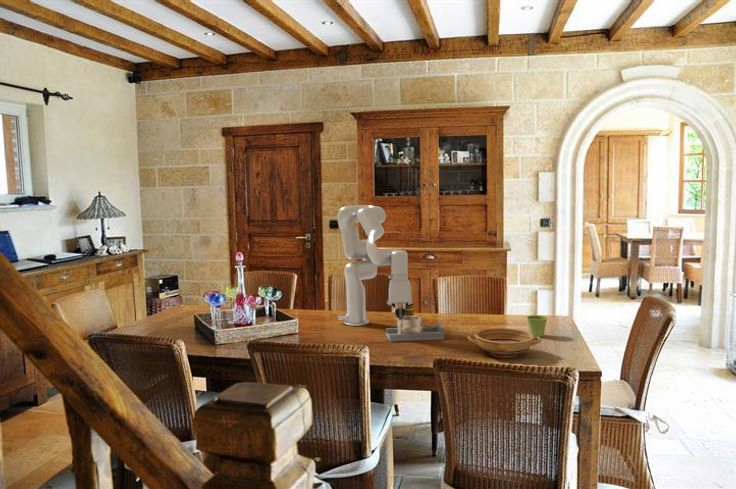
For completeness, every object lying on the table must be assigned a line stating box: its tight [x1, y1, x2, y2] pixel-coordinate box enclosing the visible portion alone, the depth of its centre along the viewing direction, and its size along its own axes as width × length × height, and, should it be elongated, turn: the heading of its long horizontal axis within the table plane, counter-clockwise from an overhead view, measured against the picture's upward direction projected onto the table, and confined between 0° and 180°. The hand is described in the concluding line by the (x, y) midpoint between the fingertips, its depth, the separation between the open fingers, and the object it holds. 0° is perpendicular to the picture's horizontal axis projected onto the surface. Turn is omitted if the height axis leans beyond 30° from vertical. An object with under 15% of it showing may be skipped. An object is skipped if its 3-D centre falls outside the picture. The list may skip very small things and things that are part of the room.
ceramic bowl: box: [467, 327, 542, 359], centre depth 238 cm, size 30×24×8 cm
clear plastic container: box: [397, 307, 423, 334], centre depth 266 cm, size 10×9×12 cm
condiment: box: [395, 303, 415, 328], centre depth 286 cm, size 7×8×12 cm
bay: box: [385, 322, 445, 342], centre depth 267 cm, size 25×12×5 cm, turn 96°
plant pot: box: [525, 314, 549, 338], centre depth 265 cm, size 9×9×9 cm
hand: (399, 316), depth 265 cm, fingers closed
